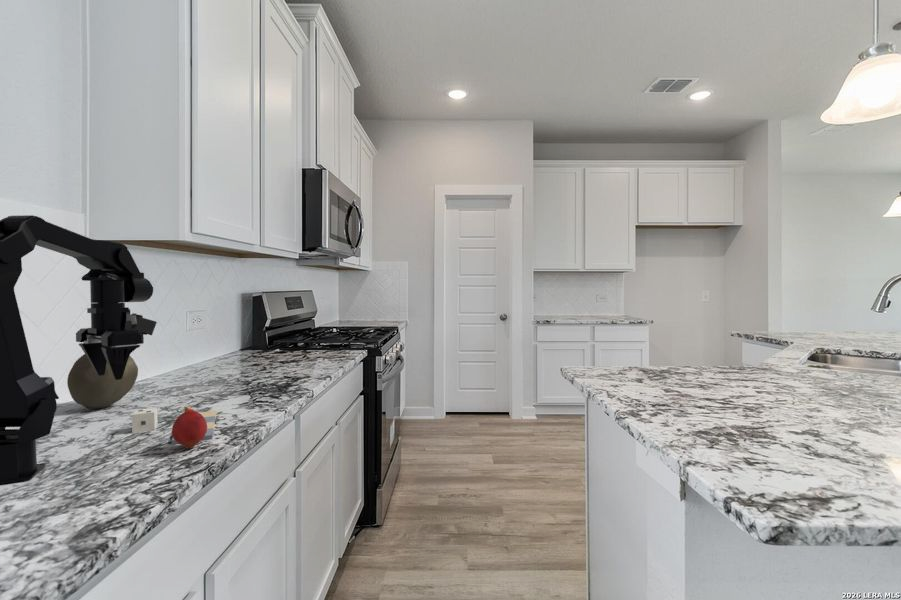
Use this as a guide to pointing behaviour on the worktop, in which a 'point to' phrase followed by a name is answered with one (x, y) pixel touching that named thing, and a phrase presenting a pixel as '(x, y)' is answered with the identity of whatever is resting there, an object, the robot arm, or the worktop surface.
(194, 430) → the onion
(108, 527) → the worktop surface
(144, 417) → the die
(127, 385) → the cantaloupe
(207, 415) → the track
